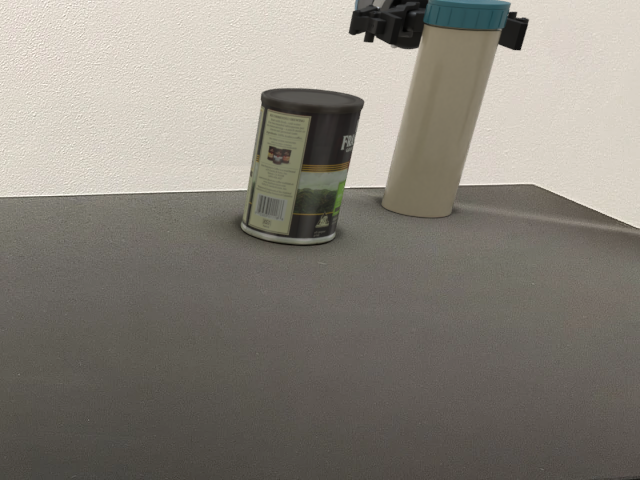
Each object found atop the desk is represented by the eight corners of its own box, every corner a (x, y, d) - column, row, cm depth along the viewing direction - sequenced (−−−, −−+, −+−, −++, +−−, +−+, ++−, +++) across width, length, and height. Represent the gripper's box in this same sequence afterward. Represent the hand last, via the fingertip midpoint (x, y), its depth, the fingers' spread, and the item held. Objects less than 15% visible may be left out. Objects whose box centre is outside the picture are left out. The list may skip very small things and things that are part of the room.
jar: (453, 205, 118) (508, 6, 106) (448, 221, 112) (507, 12, 100) (385, 195, 121) (432, 0, 109) (377, 211, 115) (425, 6, 103)
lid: (505, 24, 107) (512, 0, 106) (503, 31, 101) (510, 6, 100) (426, 18, 110) (432, -6, 109) (419, 24, 104) (425, 0, 103)
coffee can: (336, 224, 109) (365, 92, 102) (333, 250, 101) (364, 109, 94) (245, 213, 112) (266, 83, 105) (234, 237, 104) (256, 99, 96)
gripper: (497, 50, 126) (562, 75, 108) (304, 41, 128) (337, 65, 110) (515, -14, 123) (585, 1, 104) (316, -22, 124) (351, -9, 106)
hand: (458, 34), depth 107 cm, fingers open, 13 cm apart
